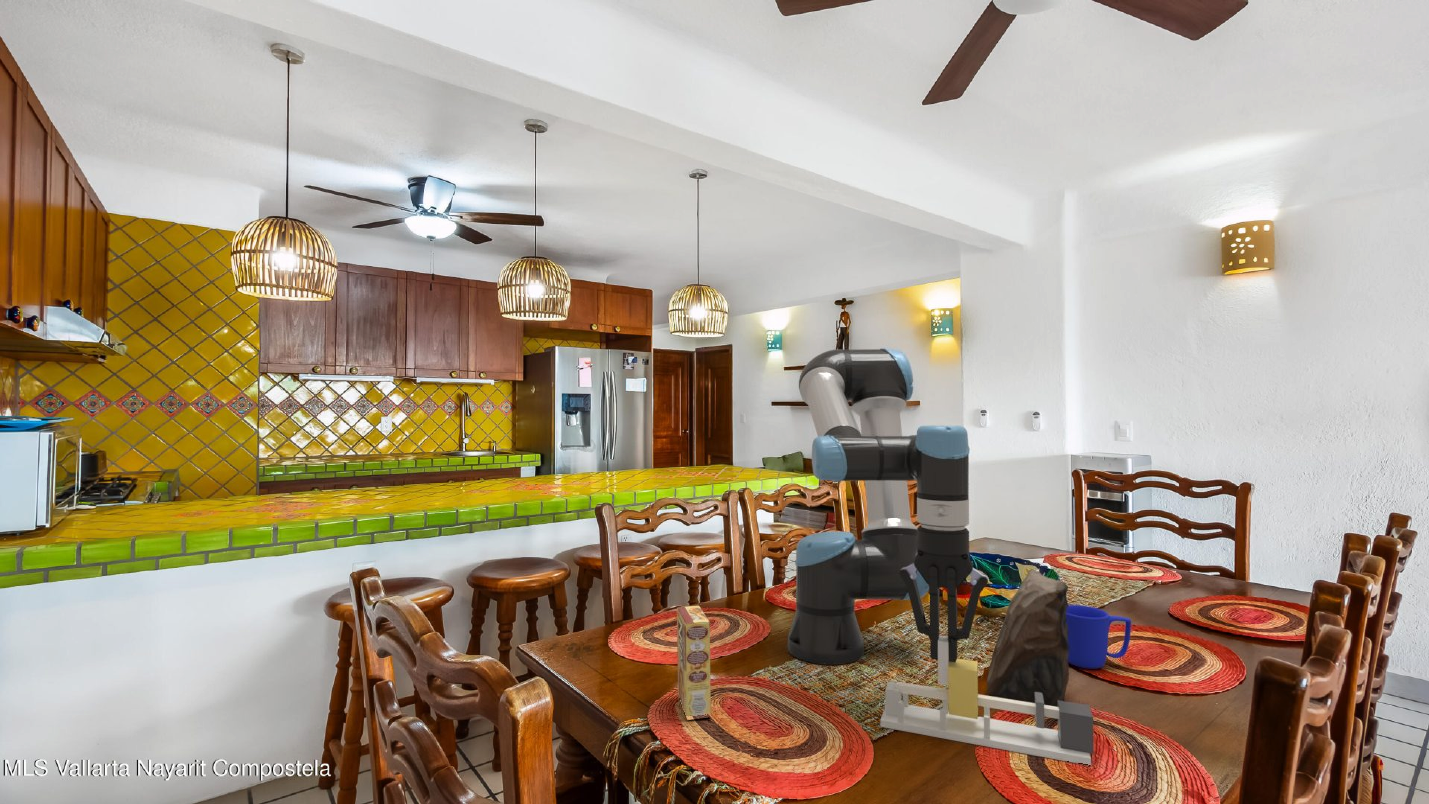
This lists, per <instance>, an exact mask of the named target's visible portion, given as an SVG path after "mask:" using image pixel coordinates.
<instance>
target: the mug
mask: <svg viewBox="0 0 1429 804" xmlns="http://www.w3.org/2000/svg"><path fill="white" fill-rule="evenodd" d="M1112 622H1125V626H1124V627H1125V628H1124V636H1123V637H1124V638H1123V642H1122V646H1121V648H1120V650H1119V651H1117V652H1116V653H1111V652H1108V651H1109V650H1108V647H1109V645H1108V644H1109V632H1110V627H1111V626H1110V625H1111V624H1112ZM1066 623H1067V625H1068V632H1069V636H1068V644H1069V646H1070V649H1069V651H1068V653H1069V657H1068V664H1071V665H1074V666H1076V667H1078V668H1081V669H1089V670H1090V669H1091V670H1096V669H1097V670H1098V669H1101V668H1102V667H1104V665H1105V664H1106V660H1107V657H1109V658H1113V659H1120V658H1122V657H1124V656H1125V655H1126V653H1127V652H1128V649H1129V645H1130V641H1131V640H1130V639H1131V633H1132V632H1131V630H1132V620H1131V618H1128V617H1124V616H1116V615H1109V612H1107V611H1105V610H1102V609H1100V608H1097V607H1093V606H1088V605H1079V604H1068V608H1067V611H1066Z"/></svg>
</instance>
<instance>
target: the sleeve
mask: <svg viewBox="0 0 1429 804" xmlns="http://www.w3.org/2000/svg"><path fill="white" fill-rule="evenodd" d="M978 667H979V662H978V661H977V660H968V659H963V658H962V659H961V658H957V660H956V662H955V663H954V662H949V666H948V686H947V687H948V690H949V701H948V712H949V714H950V715H956V716H961V717H967V718H973V719H978V717H979V716H978V715H979V706H978V694H979V671H978Z"/></svg>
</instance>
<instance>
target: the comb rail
mask: <svg viewBox="0 0 1429 804" xmlns="http://www.w3.org/2000/svg"><path fill="white" fill-rule="evenodd" d="M909 695H911V696H916V697H923V698H929V699H935V700H942V701H941V702H942V707H940V708H939V709H935V708H930V707H924V706H918V705H911V704H909ZM1057 706H1058V707H1055V706H1049V705H1044V700H1043V695H1042V693H1039V692H1035V703H1030V702H1023V701H1017V700H1011V699H1005V698H1001V697H997V696H993V695H991V696H990V695H984V694H980V693H978V707H983V716H978V719H973V718H967V717H961V716H956V715H950V714H949V689H947V688H941V687H940V688H939V687H934V686H927V685H921V684H916V683H908V682H902V681H896V682H893V681H887V684H886V687H885V706H884V710H883V712H882V714H881V717H880V721H879V722H880V727H881V728H886V729H891V730H897V731H902V732H907V733H913V734H918V735H924V736H929V737H934V738H940V739H944V740H950V741H955V742H961V743H966V744H972V745H977V746H983V747H988V748H993V749H998V750H1004V751H1008V752H1015V753H1021V754H1025V755H1030V756H1035V757H1042V758H1046V759H1053V760H1058V761H1063V762H1067V761H1069V763H1073V764H1078V763H1083V764H1088V765H1087V766H1089V765H1091V766H1092V758H1091V754H1094V715H1093V713H1092V710H1091V707H1090V705H1089V704H1085V703H1084V704H1083V703H1078V702H1072V701H1071V702H1070V701H1066V700H1065V701H1059V700H1057ZM991 709H997V710H1002V711H1009V712H1013V713H1014V712H1015V713H1019V714H1026V715H1032V716H1034V720H1035V725H1029V724H1023V723H1017V722H1011V721H1006V720H1001V719H1000V720H999V719H994V718H991ZM1045 718H1051V719H1056V720H1057V729H1053V728H1047V727H1045ZM1083 764H1082V765H1083Z"/></svg>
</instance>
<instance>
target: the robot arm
mask: <svg viewBox="0 0 1429 804" xmlns="http://www.w3.org/2000/svg"><path fill="white" fill-rule="evenodd" d="M913 382H914V376H913V370H912V367H911V363H910V361H909V359H908V357H907V356H906V354H905V353H904V352H902V351H900V350H899V349H886V348H884V347H883V348H879V349H878V348H877V349H871V348H870V349H869V348H868V349H866V348H865V349H841V348H840V349H839V348H837V349H836V348H835V349H830V350H827V351H825V352H822V353H820V354H818V355H816V356H815V357H813V358H812V359H811V360H810V361H809V362H807V363H806V365H805V366H804V367H803V369H802V371H801V372H800V375H799V380H798V390H799V394H800V396H801V398H802V401H803V402H804V403H806V405H808V408H809V412H810V415H811V418H812V421H813V424H814V428H815V431H816V434H817V436H816V437H815V438H814V439H813V442H812V445H811V466H812V472H813V473H812V474H813V476H814V478H816V479H817V480H819V481H833V482H850V481H851V482H854V481H856V482H857V481H858V482H859V481H862V482H863V481H864V485H865V486H864V487H865V498H866V513H867V525H865V527H864V528H863V529H862V530H861V539H856V537H855V536H854V533H852V532H850V531H844V530H843V531H842V530H841V531H837V530H833V531H832V530H831V531H824V532H823V531H822V532H817V533H812V534H809V535H806V536H804V537H802V538H801V539H800V540H799V541H798V543H797V544H796V554H795V561H794V563H795V564H794V565H795V566H796V568H795V570H796V573H795V576H796V578H795V579H796V580H795V585H796V587H795V588H796V589H795V590H796V591H795V593H796V594H795V599H796V603H795V606H796V607H795V614H794V615H793V616H794V617H793V620H792V622H791V625H790V629H789V631H788V632H789V633H788V636H787V651H788V653H789V654H790V655H792V657H795V658H797V659H799V660H801V661H804V662H807V663H813V664H818V665H844V664H849V663H854V662H857V661H859V660H860V659H862V658H863V657H864V654H865V648H864V647H865V643H864V639H863V635H862V632H861V630H860V626H859V623H858V620H857V617H856V613H855V607H856V606H855V600H899V601H905V600H909V601H910V605H911V609H912V612H913V618H914V621H915V624H916V625H915V626H916V629H917V632H918V633H919V634H923V635H925V636H927V637H928V638H929V644H930V646H929V648H930V649H929V650H930V651H929V652H930V653H929V656H930V659H931V660H933V661H934V660H935V661H937V684H938V685H941V686H947V687H948V666H949V662H954V663H955V662H956V660H957V659H958V642H959V641H960V640H968V639H969V638H970V635H971V631H972V627H973V623H974V619H975V615H976V612H977V608H978V604H979V601H980V595H981V593H982V592H983V590H984V589H985V588H986V586H987V585H988V583H989V576H988V575H987V574H986V573H981V572H980V571H979V570H977V569H976V568H974V563H973V561H972V560H971V558H970V531H969V530H968V528H966V527H967V526H968V525H969V524H970V499H969V490H970V489H969V487H970V486H969V485H970V483H969V482H970V481H969V480H970V479H969V468H970V467H969V466H970V465H969V462H970V461H969V455H970V449H971V448H970V446H969V437H968V430H967V429H966V427H964V426H962V425H941V424H940V425H933V424H931V425H920V426H919V427H917V429H916V434H911V435H903V432H902V422H901V413H902V411H903V410H904V409H905V408H906V407H907V401H909V400H911V398H912V397H913V393H914V392H913V391H914V385H913ZM849 402H851V406H850V405H849ZM851 409H852V410H851ZM852 411H853V412H854V413H855V414H856V415H857V416H858V417H859V421H860V429H859V426H858V424H857V421H856V419H855V417H854V415H853V412H852ZM911 481H912V482H916V522H917V523H919V525H918V527H917V526H916V525H915V524H914V523H913V522H912V519H911V518H912V517H911V509H910V500H909V490H908V489H909V487H908V482H911ZM969 575H970V582H969V583H970V584H971V585H972V587H971V591H970V595H969V598H968V602H967V606H966V609H965V614H964V618H963V622H962V626H961V627H959V628H958V588H959V587H961V586H962V584H963V583H964V582H965V580H966V579H967V578H968V577H969ZM940 588H943V589H945V590H946V594H947V595H946V596H947V597H946V598H947V635H941V634H940V632H941V630H940ZM927 593H929V624H928V623H927V619H926V614H925V611H924V606H923V603H922V598H923V597H925V596H926V594H927Z"/></svg>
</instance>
